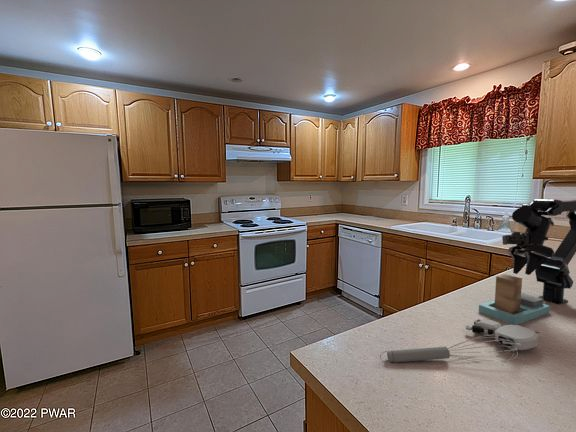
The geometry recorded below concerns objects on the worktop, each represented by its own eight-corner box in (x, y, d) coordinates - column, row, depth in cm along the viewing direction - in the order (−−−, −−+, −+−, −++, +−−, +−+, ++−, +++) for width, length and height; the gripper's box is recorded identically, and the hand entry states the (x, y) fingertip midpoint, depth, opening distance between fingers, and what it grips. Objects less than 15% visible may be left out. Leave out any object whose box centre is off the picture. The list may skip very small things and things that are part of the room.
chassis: (512, 301, 105) (513, 289, 105) (549, 312, 95) (550, 300, 95) (478, 311, 97) (479, 299, 97) (514, 325, 87) (515, 311, 87)
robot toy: (462, 336, 83) (523, 360, 70) (462, 321, 83) (523, 342, 69) (485, 326, 89) (546, 347, 75) (485, 312, 88) (546, 330, 75)
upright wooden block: (503, 310, 98) (505, 274, 96) (519, 316, 93) (522, 278, 92) (494, 313, 96) (496, 276, 94) (510, 319, 91) (513, 280, 90)
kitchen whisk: (376, 354, 74) (376, 332, 73) (504, 353, 74) (506, 330, 73) (384, 370, 68) (384, 345, 67) (523, 368, 68) (525, 343, 67)
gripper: (499, 227, 110) (485, 264, 110) (521, 221, 93) (505, 264, 92) (533, 238, 106) (519, 276, 106) (562, 233, 89) (545, 278, 89)
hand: (520, 273), depth 98 cm, fingers open, 9 cm apart
